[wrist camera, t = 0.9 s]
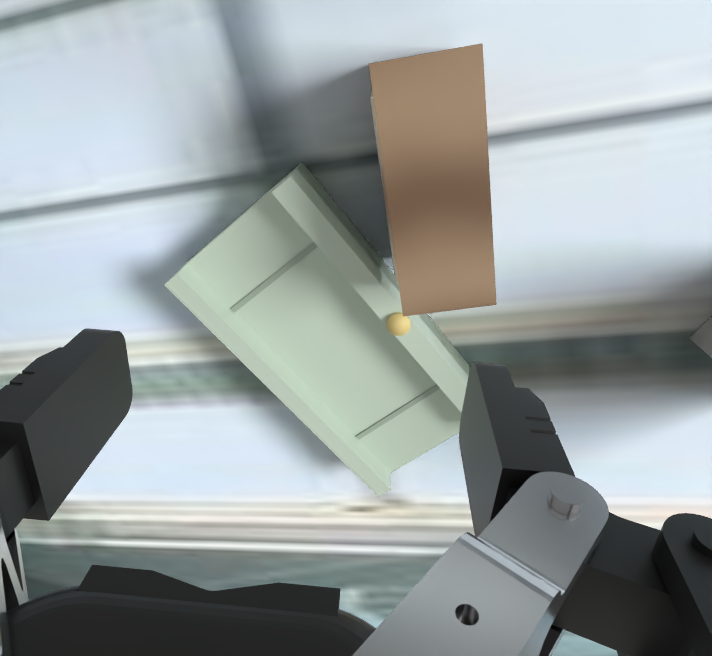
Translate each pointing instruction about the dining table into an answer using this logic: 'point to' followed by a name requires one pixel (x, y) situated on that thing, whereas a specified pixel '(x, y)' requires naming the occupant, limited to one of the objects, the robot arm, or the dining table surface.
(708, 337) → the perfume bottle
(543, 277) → the dining table surface
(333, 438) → the ledge
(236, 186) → the dining table surface
